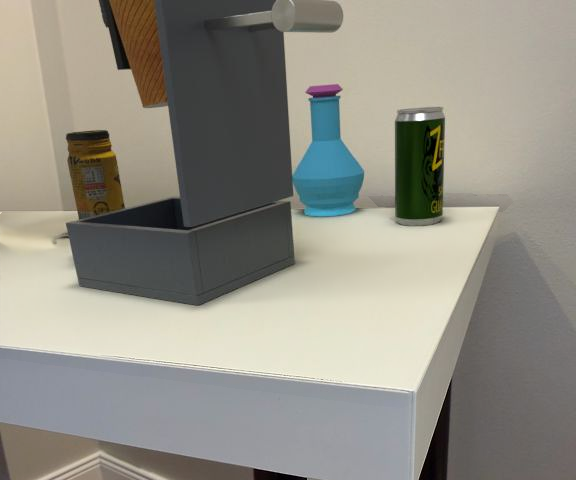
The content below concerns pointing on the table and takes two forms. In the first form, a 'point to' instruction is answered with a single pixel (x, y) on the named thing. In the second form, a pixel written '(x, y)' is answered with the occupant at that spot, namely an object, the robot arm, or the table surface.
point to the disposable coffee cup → (142, 48)
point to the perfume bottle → (327, 160)
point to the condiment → (93, 173)
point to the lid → (232, 98)
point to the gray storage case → (180, 250)
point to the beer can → (419, 165)
